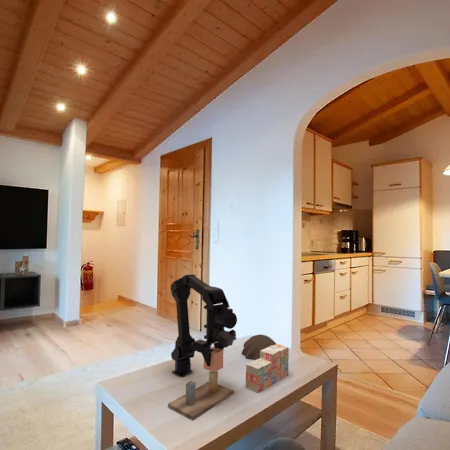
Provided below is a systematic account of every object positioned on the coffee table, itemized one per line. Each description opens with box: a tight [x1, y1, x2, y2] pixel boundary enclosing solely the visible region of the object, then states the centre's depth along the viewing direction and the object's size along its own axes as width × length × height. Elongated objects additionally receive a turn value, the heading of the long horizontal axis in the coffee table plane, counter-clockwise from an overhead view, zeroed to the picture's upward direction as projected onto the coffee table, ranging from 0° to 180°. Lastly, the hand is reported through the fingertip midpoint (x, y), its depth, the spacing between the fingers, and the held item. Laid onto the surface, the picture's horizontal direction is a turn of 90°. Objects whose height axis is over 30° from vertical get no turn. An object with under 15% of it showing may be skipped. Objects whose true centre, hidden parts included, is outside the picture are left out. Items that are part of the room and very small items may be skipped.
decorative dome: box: [241, 334, 277, 361], centre depth 156 cm, size 19×20×10 cm
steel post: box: [185, 380, 197, 406], centre depth 108 cm, size 2×2×8 cm
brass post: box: [208, 370, 219, 393], centre depth 117 cm, size 2×2×8 cm
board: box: [167, 381, 235, 421], centre depth 112 cm, size 12×22×1 cm, turn 141°
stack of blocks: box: [245, 343, 290, 393], centre depth 127 cm, size 21×6×12 cm, turn 136°
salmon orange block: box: [203, 346, 224, 372], centre depth 117 cm, size 5×5×7 cm
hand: (213, 363), depth 117 cm, fingers closed on salmon orange block, 5 cm apart
